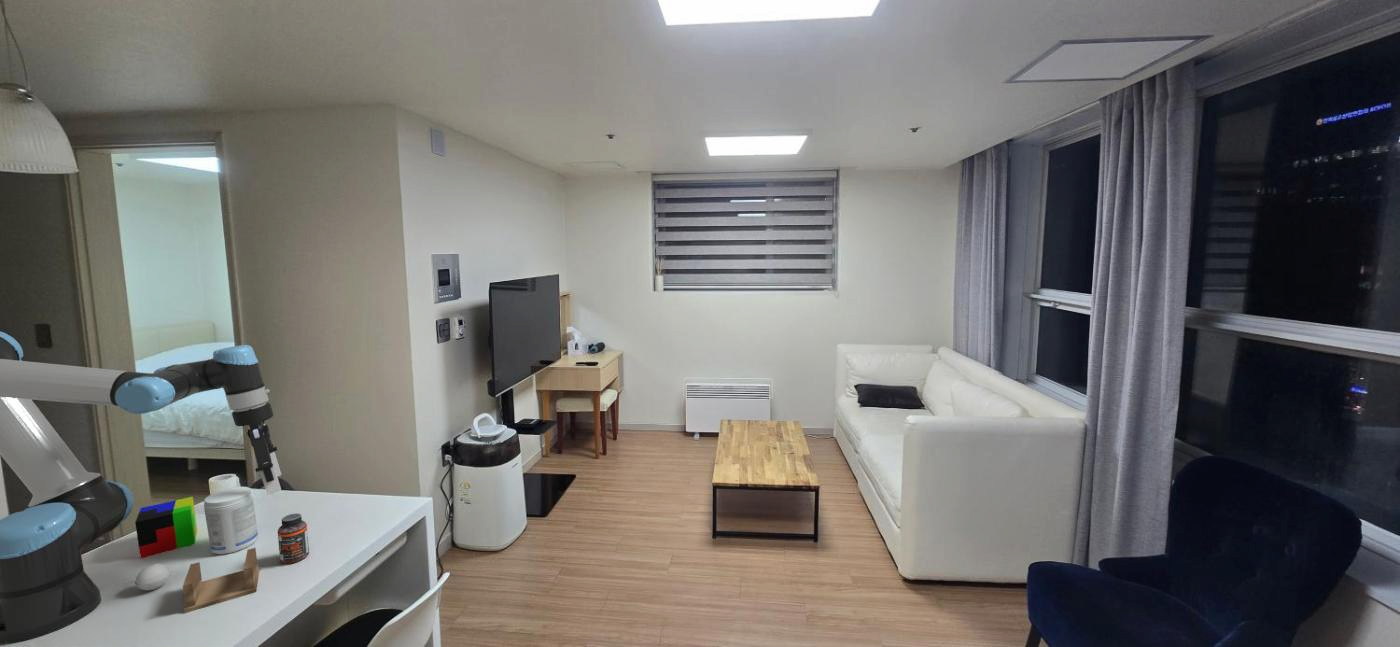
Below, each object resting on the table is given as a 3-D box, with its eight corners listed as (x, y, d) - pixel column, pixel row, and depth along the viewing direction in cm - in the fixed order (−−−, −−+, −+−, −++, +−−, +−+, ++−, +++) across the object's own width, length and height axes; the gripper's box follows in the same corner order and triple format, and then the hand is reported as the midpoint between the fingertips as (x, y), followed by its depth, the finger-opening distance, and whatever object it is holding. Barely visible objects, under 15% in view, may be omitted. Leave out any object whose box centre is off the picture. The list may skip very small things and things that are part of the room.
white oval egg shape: (177, 578, 124) (174, 556, 123) (162, 592, 119) (159, 570, 118) (136, 585, 122) (132, 563, 121) (118, 600, 116) (115, 577, 116)
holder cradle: (184, 613, 112) (180, 587, 111) (192, 587, 121) (189, 563, 120) (256, 591, 119) (253, 567, 119) (259, 568, 128) (257, 546, 127)
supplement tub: (258, 532, 145) (253, 482, 143) (258, 547, 138) (251, 495, 136) (211, 544, 139) (205, 492, 137) (208, 560, 131) (201, 506, 130)
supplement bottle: (280, 567, 128) (275, 525, 127) (280, 557, 133) (275, 516, 132) (310, 559, 132) (306, 517, 131) (309, 548, 137) (305, 508, 135)
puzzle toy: (145, 542, 140) (140, 507, 138) (197, 529, 146) (192, 496, 145) (140, 558, 132) (135, 522, 131) (194, 544, 139) (190, 509, 137)
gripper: (268, 411, 121) (293, 493, 125) (270, 394, 141) (292, 465, 144) (226, 421, 117) (253, 506, 121) (234, 402, 136) (257, 476, 140)
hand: (274, 484), depth 133 cm, fingers open, 13 cm apart
